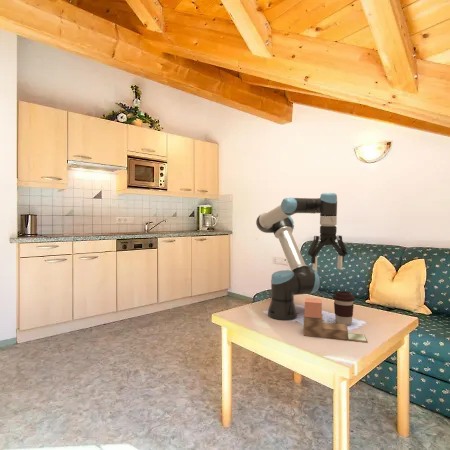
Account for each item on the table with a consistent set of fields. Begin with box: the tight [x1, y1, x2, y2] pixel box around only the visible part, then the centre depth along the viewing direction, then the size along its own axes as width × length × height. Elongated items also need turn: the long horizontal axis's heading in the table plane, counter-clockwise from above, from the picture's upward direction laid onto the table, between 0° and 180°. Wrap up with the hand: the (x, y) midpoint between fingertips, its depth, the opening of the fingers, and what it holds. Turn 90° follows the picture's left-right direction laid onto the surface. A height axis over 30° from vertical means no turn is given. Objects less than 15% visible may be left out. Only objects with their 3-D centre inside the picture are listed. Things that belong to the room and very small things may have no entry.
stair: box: [303, 312, 368, 344], centre depth 129 cm, size 26×8×8 cm, turn 72°
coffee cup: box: [332, 290, 356, 326], centre depth 144 cm, size 10×10×15 cm
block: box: [304, 297, 323, 319], centre depth 131 cm, size 7×7×7 cm
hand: (327, 269), depth 141 cm, fingers open, 13 cm apart
